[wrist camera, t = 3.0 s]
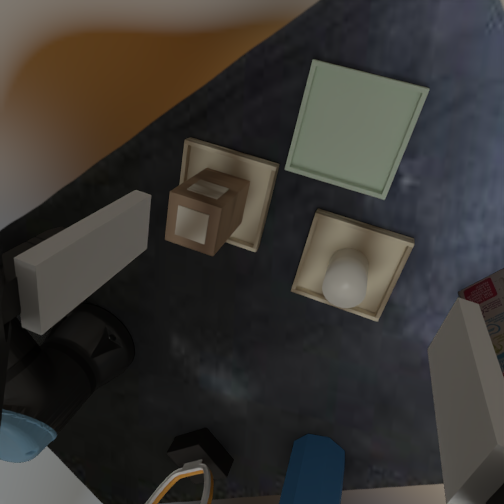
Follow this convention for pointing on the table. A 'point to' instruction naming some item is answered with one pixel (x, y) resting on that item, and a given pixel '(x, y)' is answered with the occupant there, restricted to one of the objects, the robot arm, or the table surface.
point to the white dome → (346, 278)
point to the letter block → (206, 210)
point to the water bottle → (314, 472)
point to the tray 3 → (359, 238)
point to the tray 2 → (353, 127)
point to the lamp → (196, 463)
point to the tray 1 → (243, 167)
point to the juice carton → (490, 308)
